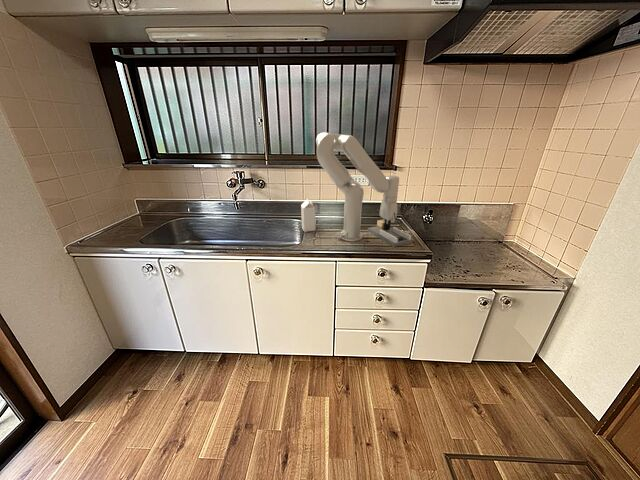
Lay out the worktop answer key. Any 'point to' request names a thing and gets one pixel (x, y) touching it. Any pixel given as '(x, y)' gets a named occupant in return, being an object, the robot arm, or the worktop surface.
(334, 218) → the worktop surface
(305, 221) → the milk carton
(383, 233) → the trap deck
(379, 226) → the maple block
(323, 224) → the worktop surface
